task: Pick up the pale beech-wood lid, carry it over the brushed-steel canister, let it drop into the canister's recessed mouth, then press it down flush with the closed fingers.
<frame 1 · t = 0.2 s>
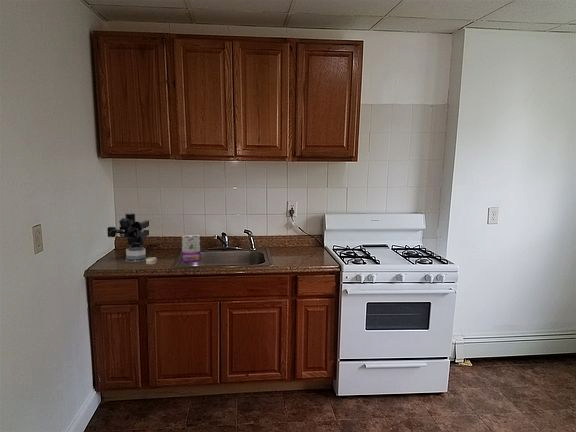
hand: (116, 235, 223), 17 cm above the table, tool horizontal, fingers open, 9 cm apart
canister: (136, 260, 233), on the table
candy bar box: (191, 261, 234), on the table
lid: (151, 263, 227), on the table
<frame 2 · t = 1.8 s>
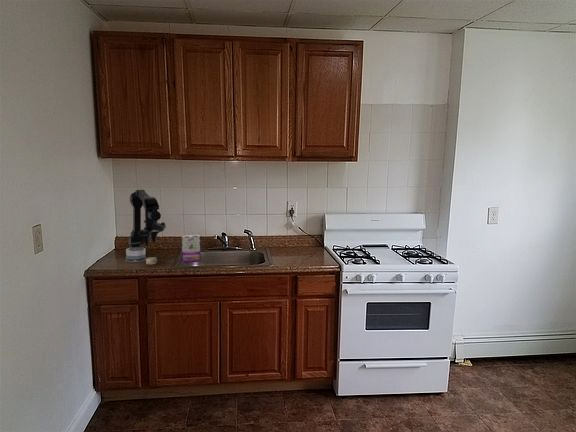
hand: (150, 244, 226), 12 cm above the table, tool pointing down, fingers open, 9 cm apart
nothing on the table moved.
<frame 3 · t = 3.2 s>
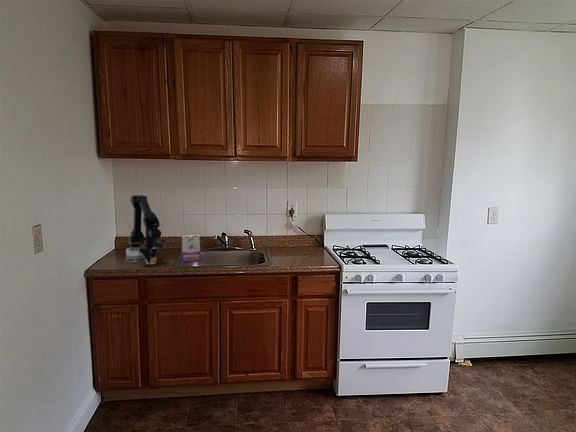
hand: (151, 261, 227), 1 cm above the table, tool pointing down, fingers closed on lid, 6 cm apart
lid: (151, 263, 227), on the table, touching gripper
everything else where it was.
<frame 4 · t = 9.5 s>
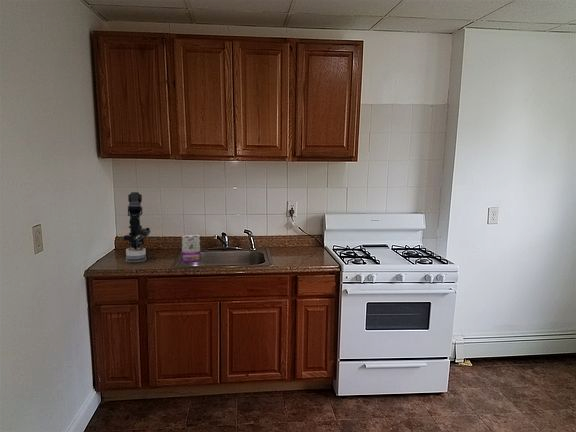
hand: (135, 249, 232), 7 cm above the table, tool pointing down, fingers closed, pressing on lid
lid: (135, 253, 232), point 4 cm above the table, touching canister, gripper
everything else where it was.
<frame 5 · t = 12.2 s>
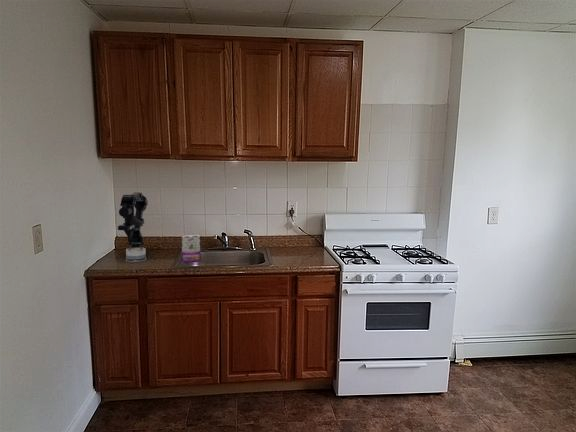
hand: (130, 239, 237), 12 cm above the table, tool pointing down, fingers closed
lid: (135, 254, 232), point 4 cm above the table, touching canister
everything else where it was.
at the end: lid 0.4 cm off-centre on the canister, point 4.0 cm above the canister's base; lid tilted 0°; the gripper is holding nothing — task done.
